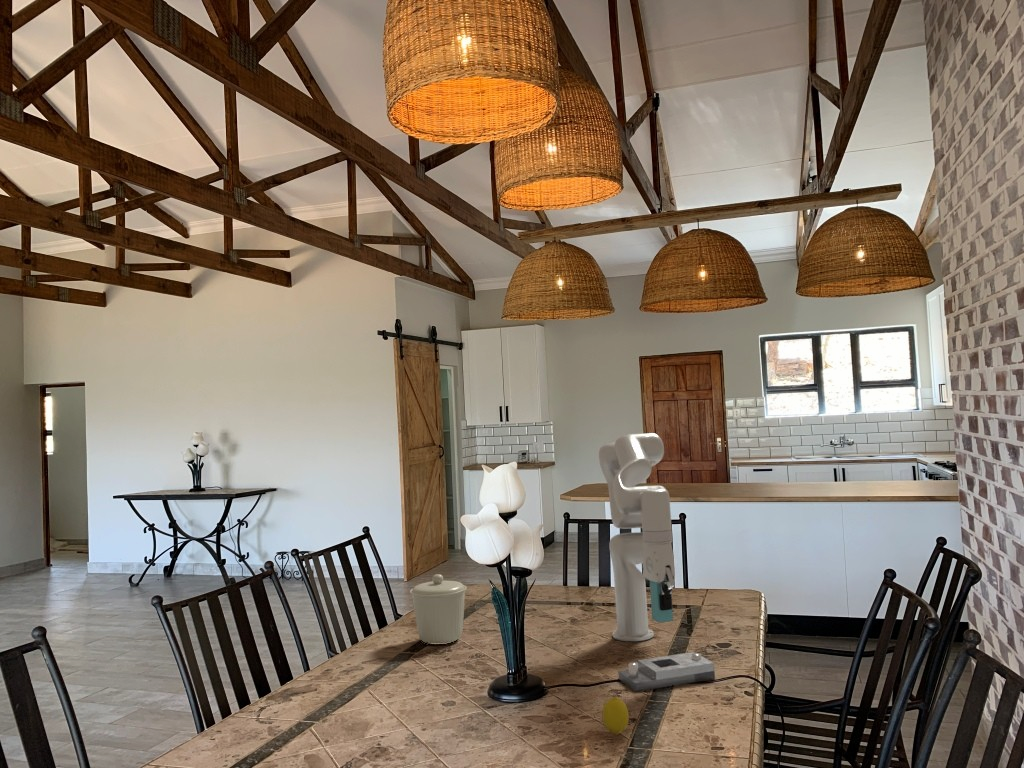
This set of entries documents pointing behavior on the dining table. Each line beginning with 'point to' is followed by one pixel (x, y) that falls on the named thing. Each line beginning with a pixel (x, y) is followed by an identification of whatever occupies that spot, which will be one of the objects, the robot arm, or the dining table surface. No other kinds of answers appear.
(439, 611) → the canister
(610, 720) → the lemon
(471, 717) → the dining table surface
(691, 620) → the dining table surface
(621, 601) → the robot arm
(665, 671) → the grey slotted base
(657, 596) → the pin
